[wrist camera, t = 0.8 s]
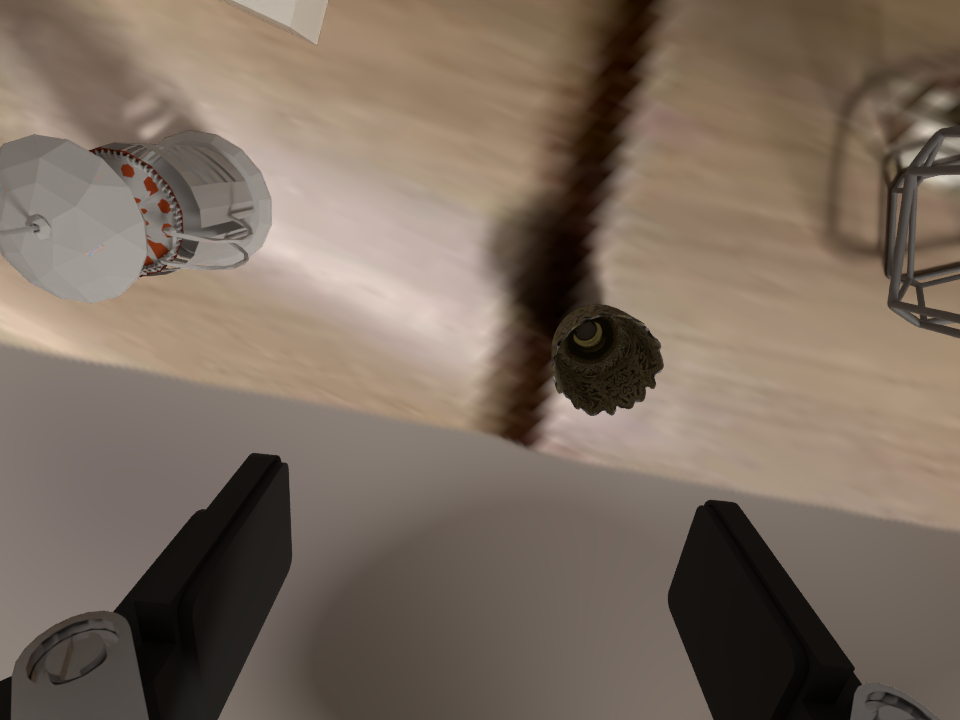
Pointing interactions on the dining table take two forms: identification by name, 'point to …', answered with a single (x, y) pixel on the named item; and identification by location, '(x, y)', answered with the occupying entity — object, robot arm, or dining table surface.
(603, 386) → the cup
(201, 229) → the french press
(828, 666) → the robot arm
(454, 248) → the dining table surface
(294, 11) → the block
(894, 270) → the geometric lantern
